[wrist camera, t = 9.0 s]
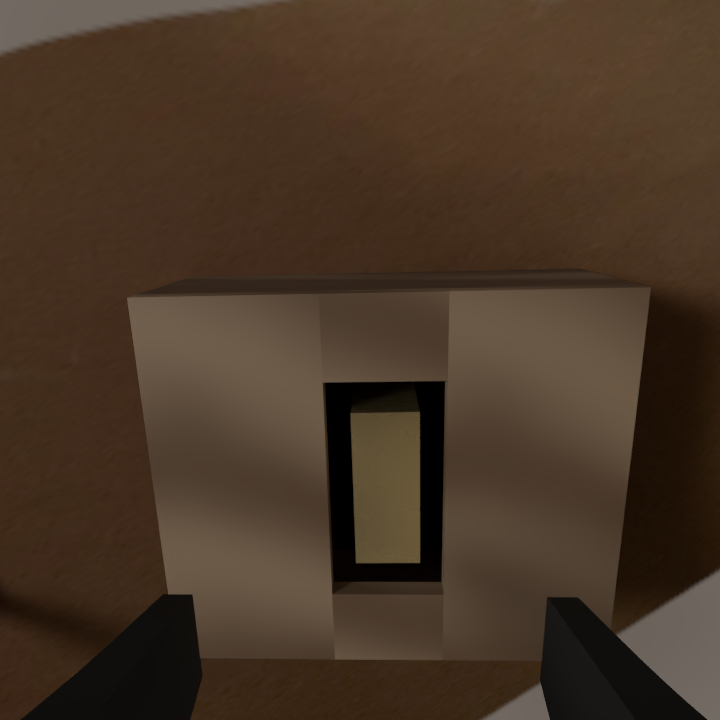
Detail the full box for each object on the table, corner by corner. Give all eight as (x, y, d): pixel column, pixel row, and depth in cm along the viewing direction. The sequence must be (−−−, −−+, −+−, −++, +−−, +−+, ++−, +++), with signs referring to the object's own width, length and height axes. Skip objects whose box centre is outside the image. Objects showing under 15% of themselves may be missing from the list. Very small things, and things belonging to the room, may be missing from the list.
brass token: (410, 484, 21) (420, 562, 17) (361, 485, 21) (356, 563, 17) (409, 365, 20) (419, 412, 15) (357, 366, 20) (350, 412, 15)
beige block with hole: (555, 561, 22) (607, 661, 17) (221, 561, 23) (177, 657, 18) (580, 269, 19) (651, 287, 14) (191, 277, 19) (126, 297, 14)
